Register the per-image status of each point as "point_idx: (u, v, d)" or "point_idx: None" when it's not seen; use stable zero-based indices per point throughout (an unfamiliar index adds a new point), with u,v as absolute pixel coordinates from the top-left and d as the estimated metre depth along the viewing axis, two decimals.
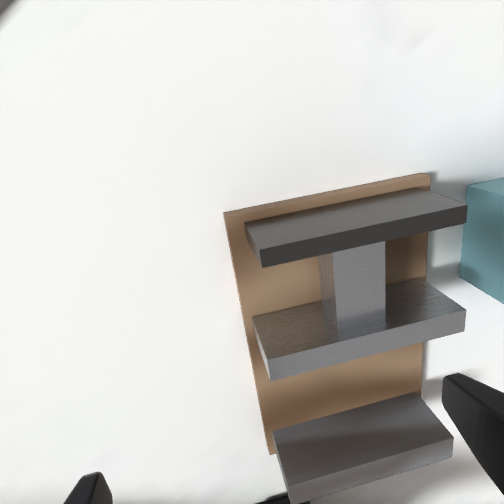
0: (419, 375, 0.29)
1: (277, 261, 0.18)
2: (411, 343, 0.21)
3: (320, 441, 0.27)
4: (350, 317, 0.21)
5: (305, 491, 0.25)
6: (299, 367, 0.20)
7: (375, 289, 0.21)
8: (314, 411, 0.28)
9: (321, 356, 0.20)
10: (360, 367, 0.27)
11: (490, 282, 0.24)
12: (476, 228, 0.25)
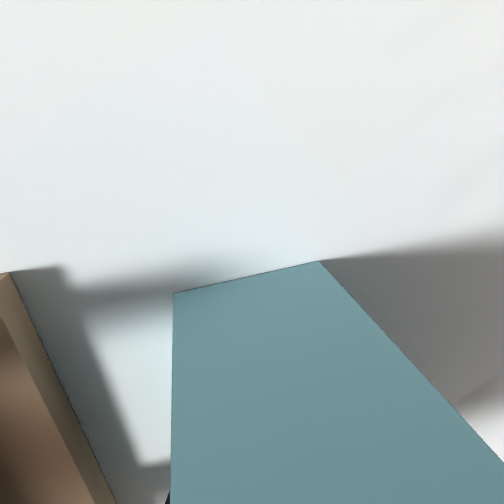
0: None
1: None
2: None
3: None
4: None
5: None
6: None
7: None
8: None
9: None
10: None
11: None
12: None
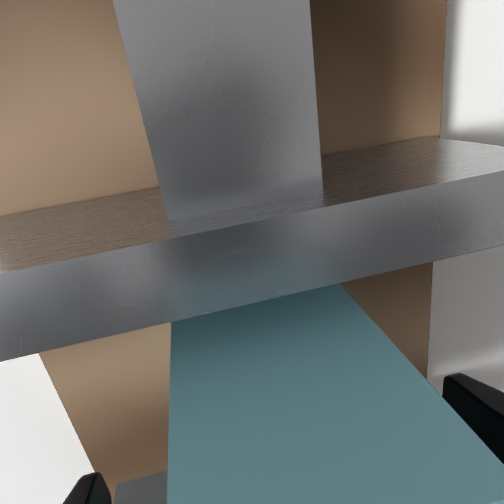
0: (422, 369, 0.14)
1: None
2: (401, 264, 0.07)
3: None
4: (205, 177, 0.07)
5: None
6: (10, 336, 0.06)
7: (280, 72, 0.06)
8: None
9: (87, 294, 0.06)
10: None
11: None
12: None
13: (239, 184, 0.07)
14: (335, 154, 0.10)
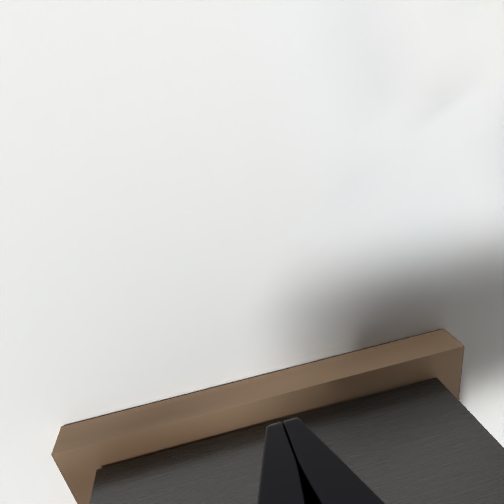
0: None
1: None
2: None
3: None
4: None
5: None
6: None
7: None
8: None
9: None
10: None
11: None
12: None
13: None
14: None
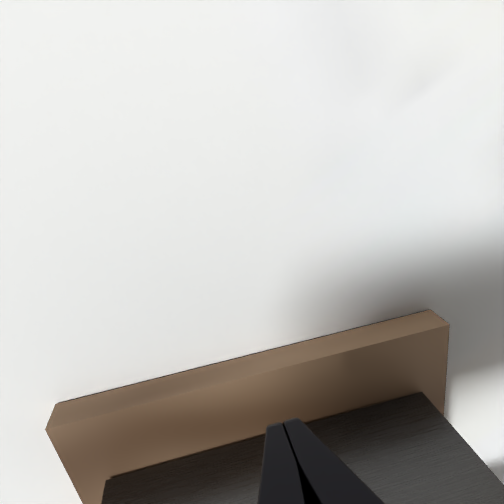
0: None
1: None
2: None
3: None
4: None
5: None
6: None
7: None
8: None
9: None
10: None
11: None
12: None
13: None
14: None
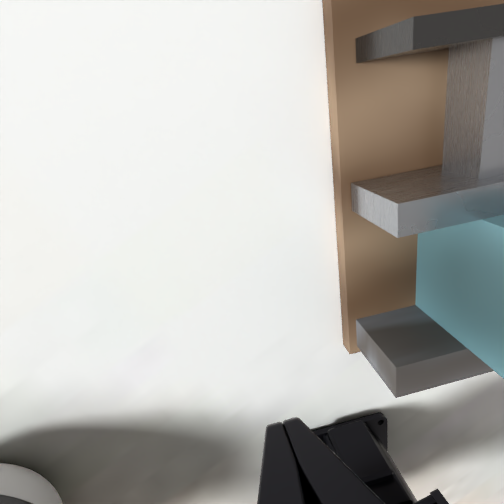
0: None
1: (434, 41, 0.13)
2: None
3: (424, 325, 0.21)
4: (497, 160, 0.16)
5: (416, 376, 0.19)
6: (435, 220, 0.15)
7: None
8: (409, 295, 0.22)
9: (464, 204, 0.15)
10: None
11: (447, 316, 0.20)
12: (430, 249, 0.20)
13: None
14: None
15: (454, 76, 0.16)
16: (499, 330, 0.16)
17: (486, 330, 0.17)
